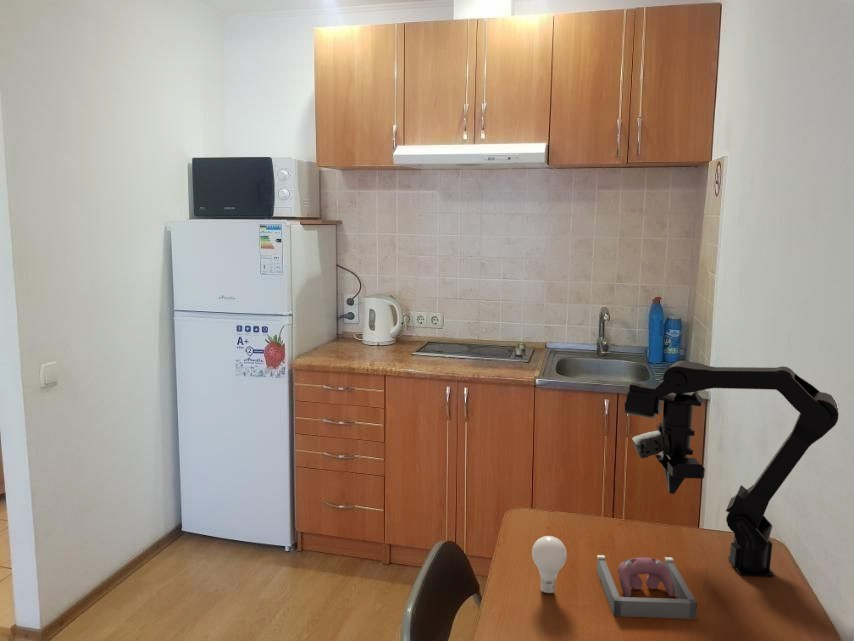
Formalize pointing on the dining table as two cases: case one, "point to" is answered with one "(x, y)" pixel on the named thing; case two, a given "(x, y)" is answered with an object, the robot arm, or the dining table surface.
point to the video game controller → (644, 566)
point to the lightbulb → (548, 560)
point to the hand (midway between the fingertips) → (671, 492)
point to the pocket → (649, 606)
